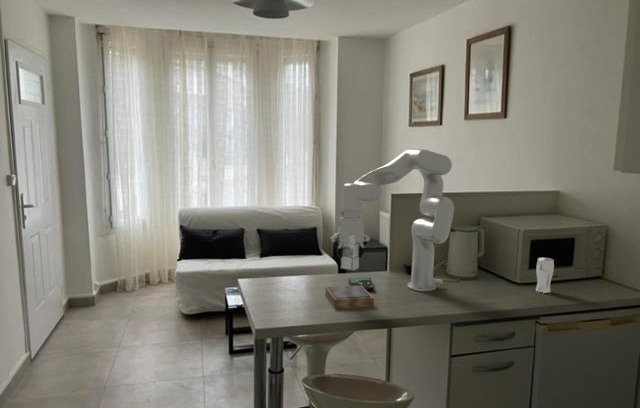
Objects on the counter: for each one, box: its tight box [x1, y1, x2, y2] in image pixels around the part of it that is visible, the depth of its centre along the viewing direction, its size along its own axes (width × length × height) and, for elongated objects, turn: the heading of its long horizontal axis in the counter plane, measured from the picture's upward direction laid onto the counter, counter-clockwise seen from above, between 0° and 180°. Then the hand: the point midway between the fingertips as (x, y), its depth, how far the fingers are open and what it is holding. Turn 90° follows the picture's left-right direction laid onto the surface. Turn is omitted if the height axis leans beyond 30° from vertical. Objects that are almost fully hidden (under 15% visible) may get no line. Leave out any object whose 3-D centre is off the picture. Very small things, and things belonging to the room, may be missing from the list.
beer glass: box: [535, 257, 555, 294], centre depth 212 cm, size 7×7×15 cm
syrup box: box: [340, 235, 360, 272], centre depth 191 cm, size 6×6×14 cm
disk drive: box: [348, 277, 375, 293], centre depth 213 cm, size 10×3×15 cm
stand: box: [324, 285, 375, 309], centre depth 193 cm, size 16×16×4 cm
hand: (349, 256), depth 191 cm, fingers closed on syrup box, 7 cm apart
